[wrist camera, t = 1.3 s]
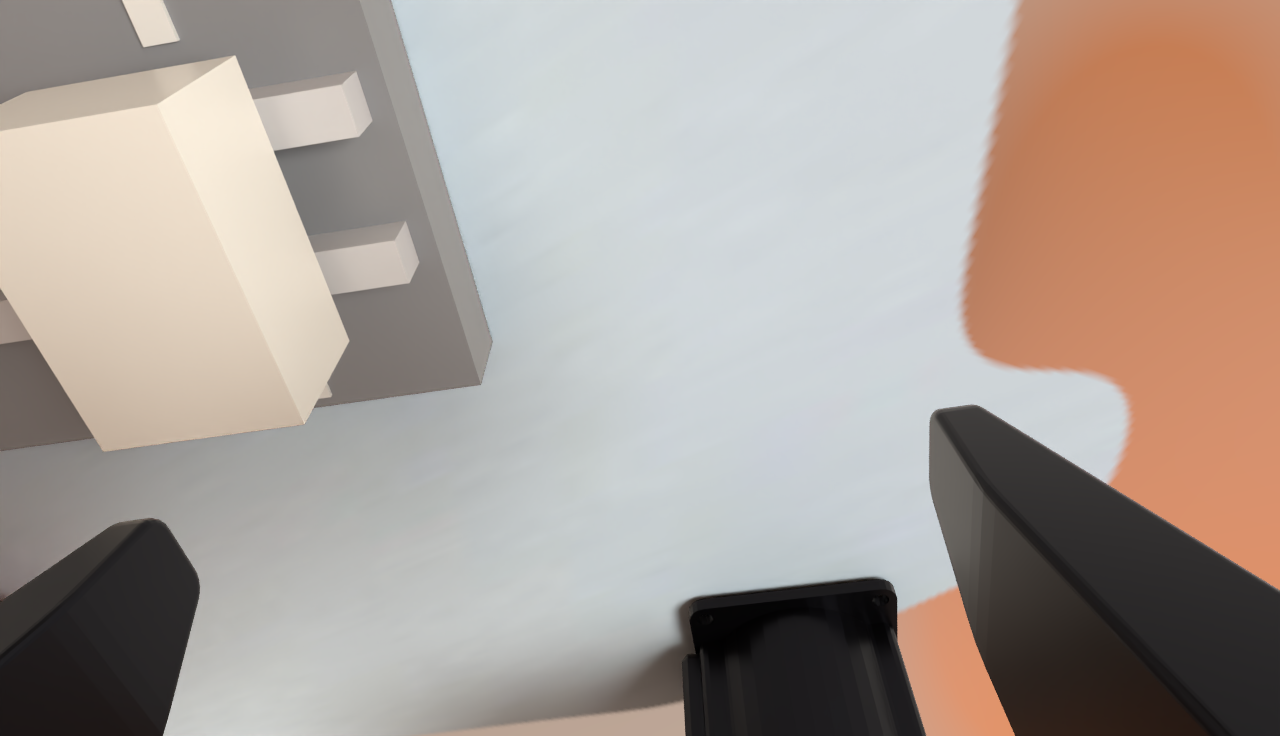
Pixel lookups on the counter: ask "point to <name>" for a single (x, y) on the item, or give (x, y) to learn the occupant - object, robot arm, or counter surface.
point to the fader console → (311, 165)
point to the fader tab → (162, 257)
